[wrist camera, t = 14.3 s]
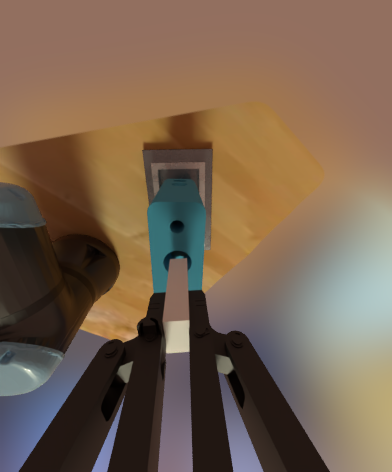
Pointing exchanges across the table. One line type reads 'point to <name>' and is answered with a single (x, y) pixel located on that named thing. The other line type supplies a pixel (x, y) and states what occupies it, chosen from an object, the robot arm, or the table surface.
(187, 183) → the block
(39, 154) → the table surface
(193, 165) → the grey rectangular tray
